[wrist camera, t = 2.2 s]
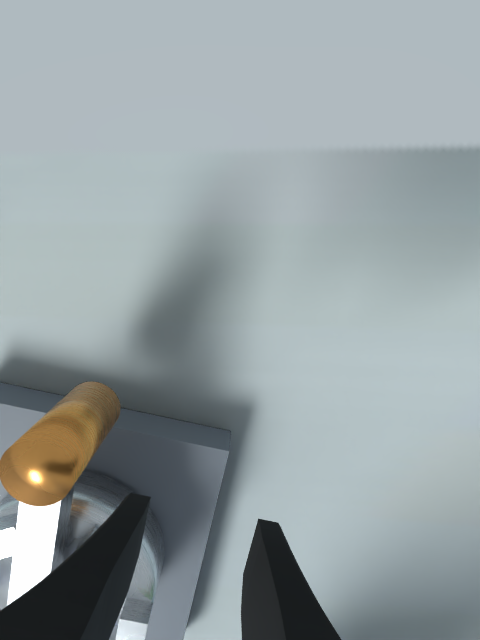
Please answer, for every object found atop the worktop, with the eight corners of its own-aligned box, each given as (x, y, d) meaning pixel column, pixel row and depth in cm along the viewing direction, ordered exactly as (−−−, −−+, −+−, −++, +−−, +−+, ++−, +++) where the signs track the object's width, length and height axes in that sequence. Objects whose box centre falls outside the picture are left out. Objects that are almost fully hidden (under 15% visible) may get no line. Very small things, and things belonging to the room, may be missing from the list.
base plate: (230, 431, 21) (229, 451, 19) (181, 632, 24) (176, 667, 22) (-10, 380, 21) (-36, 395, 19) (-29, 592, 24) (-54, 624, 22)
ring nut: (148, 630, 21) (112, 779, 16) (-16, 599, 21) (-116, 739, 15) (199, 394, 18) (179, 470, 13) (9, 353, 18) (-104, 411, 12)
